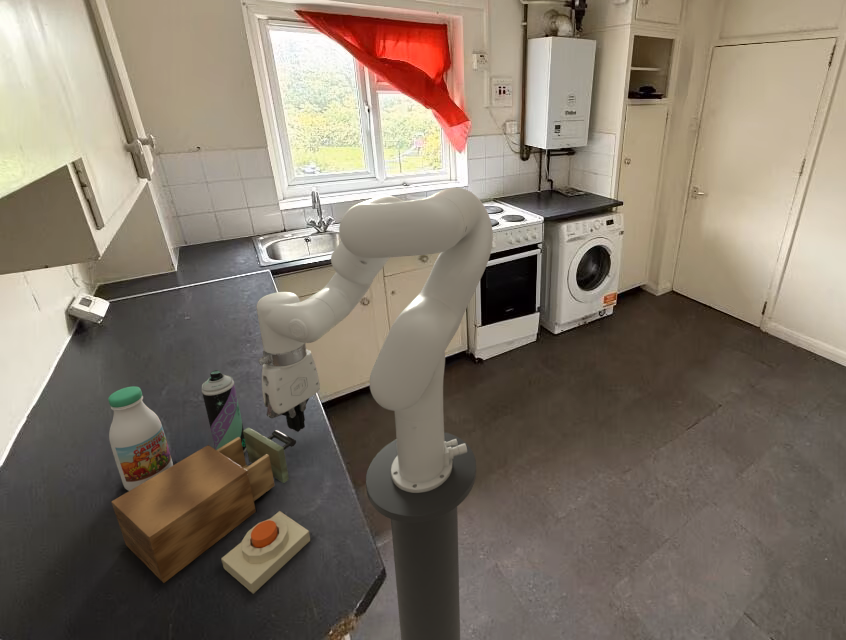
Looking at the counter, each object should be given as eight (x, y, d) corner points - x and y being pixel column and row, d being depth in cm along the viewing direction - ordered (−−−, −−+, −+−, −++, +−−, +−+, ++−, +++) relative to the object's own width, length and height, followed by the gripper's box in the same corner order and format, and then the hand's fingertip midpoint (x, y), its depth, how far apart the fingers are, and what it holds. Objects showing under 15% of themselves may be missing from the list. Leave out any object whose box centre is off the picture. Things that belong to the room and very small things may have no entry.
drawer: (273, 445, 93) (268, 415, 90) (307, 465, 88) (303, 434, 85) (182, 505, 78) (173, 472, 75) (217, 534, 73) (208, 499, 70)
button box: (281, 520, 76) (278, 502, 75) (310, 540, 73) (307, 522, 72) (223, 568, 68) (218, 550, 67) (253, 594, 64) (248, 575, 63)
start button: (269, 524, 72) (267, 516, 71) (282, 534, 70) (280, 526, 70) (247, 541, 69) (245, 533, 68) (261, 552, 67) (259, 544, 67)
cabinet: (217, 484, 84) (208, 444, 81) (256, 511, 78) (247, 470, 75) (126, 545, 71) (110, 501, 68) (163, 583, 66) (149, 537, 63)
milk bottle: (113, 493, 81) (83, 406, 75) (145, 462, 88) (120, 380, 82) (154, 493, 81) (128, 405, 75) (183, 462, 89) (161, 380, 82)
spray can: (211, 457, 90) (191, 376, 84) (234, 440, 95) (217, 362, 89) (230, 464, 88) (212, 382, 82) (253, 446, 93) (237, 367, 87)
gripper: (260, 376, 77) (274, 456, 83) (329, 341, 90) (337, 413, 95) (237, 364, 81) (251, 442, 86) (306, 332, 93) (315, 402, 99)
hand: (296, 427), depth 91 cm, fingers closed
